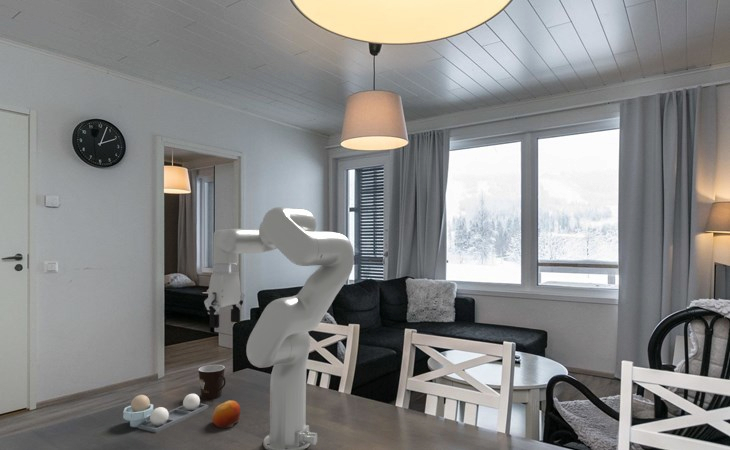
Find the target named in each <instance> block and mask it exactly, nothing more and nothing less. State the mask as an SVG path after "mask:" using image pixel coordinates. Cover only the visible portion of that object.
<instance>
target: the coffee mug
mask: <svg viewBox="0 0 730 450" xmlns="http://www.w3.org/2000/svg"><path fill="white" fill-rule="evenodd" d="M225 370H226V367H225V366H224V365H222V364H209V365H203V366H201V367H199V368H198V378H199V387H200V396H201V397H200V398H201V399H203V400H216V399H218V398H220V397H222V393H223V392H222V391H223V389H224V387H225V385H226V378H225Z"/></svg>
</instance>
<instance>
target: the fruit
mask: <svg viewBox="0 0 730 450" xmlns="http://www.w3.org/2000/svg"><path fill="white" fill-rule="evenodd" d="M240 417H241V406H240V404H239V403H238V402H237V401H235V400H226V401H224V402H223V403H222V402H221V403H220V404H219V405H217V406H216V407H215V408H214V411H213V413H212V418H211V419H212V420H211V421H212V423H213V424H214V425H215V426H216V427H217V428H222V429H225V428H232V427H233V426H234V425H235V424H237V423H239V421H240Z"/></svg>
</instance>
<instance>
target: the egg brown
mask: <svg viewBox="0 0 730 450" xmlns="http://www.w3.org/2000/svg"><path fill="white" fill-rule="evenodd" d="M150 404H151V401H150V399H149V397H148V396H147V395H146V394H145V395H144V394H139V395H136V396H135V397H134V398H133V399H132V400H131V402H130V406H131V409H132V410H133V411H134V412H141V411H144V410H147V409H148V407H149V405H150Z"/></svg>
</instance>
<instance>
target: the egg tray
mask: <svg viewBox="0 0 730 450" xmlns="http://www.w3.org/2000/svg"><path fill="white" fill-rule="evenodd" d="M208 408H209V404H206V403H202V402H200V404H199V406H198V407H197V408H196V409H194V410H187V409H185V408H184V406H183V404H182V405H181V406H178V407H176V408H173V409H171V410H169V411H168V413H169V417H168V420H167V421H166V423H164V424H163V425H160V426H155V425H153V424H152V423H151V421H150V419H149V420H148V419H147V421H146V422H144V423H141V424H139V425H138V427H137V429H140V430H142V431H146V432H152V433H155V434H157V433H159V432H161V431H164V430H165V429H168V428H170V427H171V426H173V425H176V424H178V423H181V422H182V421H184V420H186V419H188V418H190V417H192V416H194V415H196V414H199V413H201V412H203V411H205V410H207V409H208Z"/></svg>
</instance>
